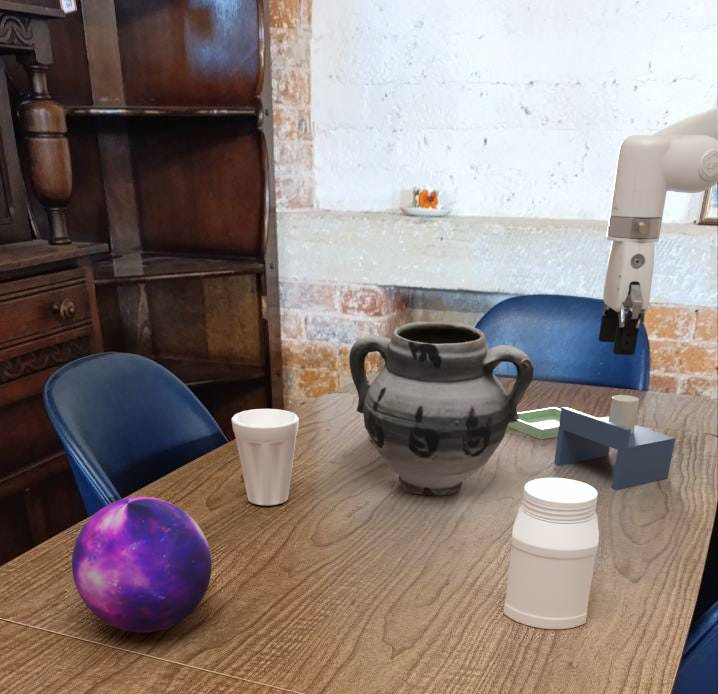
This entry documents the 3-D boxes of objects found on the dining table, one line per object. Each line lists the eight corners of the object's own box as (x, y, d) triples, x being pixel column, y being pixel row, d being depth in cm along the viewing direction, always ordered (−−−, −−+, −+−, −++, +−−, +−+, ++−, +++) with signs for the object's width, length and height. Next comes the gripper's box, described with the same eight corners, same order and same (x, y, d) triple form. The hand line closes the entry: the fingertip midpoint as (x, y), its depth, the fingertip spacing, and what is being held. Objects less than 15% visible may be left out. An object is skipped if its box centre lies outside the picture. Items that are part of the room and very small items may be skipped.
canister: (620, 425, 151) (625, 393, 148) (639, 432, 148) (645, 399, 145) (601, 428, 149) (606, 396, 146) (620, 435, 146) (626, 402, 143)
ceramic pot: (530, 475, 148) (548, 322, 136) (506, 524, 129) (525, 351, 117) (369, 455, 156) (372, 309, 144) (324, 498, 137) (323, 334, 125)
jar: (508, 581, 112) (521, 469, 105) (585, 590, 110) (603, 477, 103) (501, 624, 102) (514, 503, 95) (585, 634, 100) (605, 512, 93)
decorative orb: (62, 614, 102) (43, 493, 95) (181, 583, 110) (171, 469, 103) (110, 672, 91) (93, 540, 84) (238, 633, 99) (231, 509, 92)
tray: (553, 416, 181) (554, 406, 180) (591, 430, 173) (593, 420, 172) (503, 424, 175) (504, 415, 174) (540, 439, 166) (542, 429, 166)
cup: (300, 512, 132) (299, 426, 126) (233, 512, 131) (229, 427, 125) (300, 488, 141) (298, 408, 134) (237, 489, 140) (233, 408, 134)
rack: (603, 453, 160) (612, 399, 155) (667, 478, 148) (679, 420, 144) (554, 463, 154) (561, 407, 149) (616, 490, 143) (626, 430, 138)
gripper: (676, 235, 122) (655, 360, 130) (643, 225, 137) (625, 337, 145) (622, 234, 122) (604, 359, 130) (595, 224, 138) (580, 336, 146)
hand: (615, 347), depth 138 cm, fingers open, 9 cm apart
